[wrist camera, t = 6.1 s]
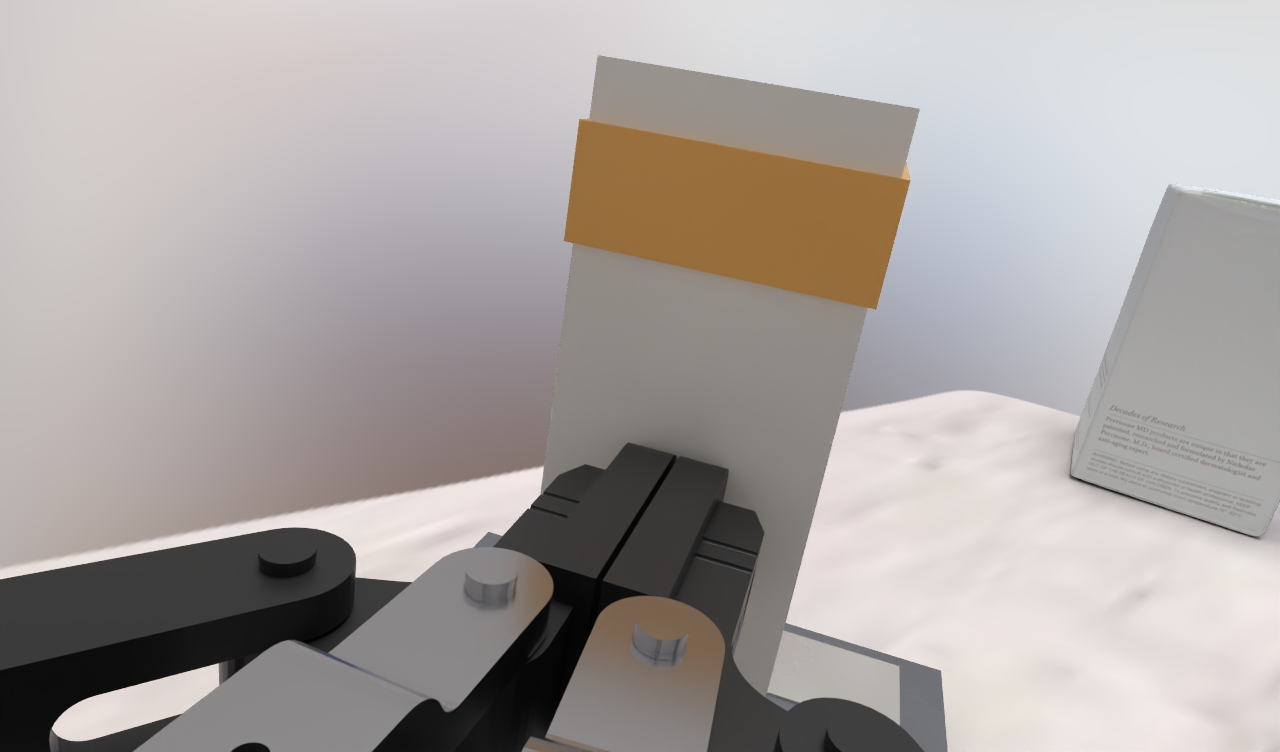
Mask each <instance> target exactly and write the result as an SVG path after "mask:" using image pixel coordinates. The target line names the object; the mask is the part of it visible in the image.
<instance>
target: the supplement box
mask: <svg viewBox="0 0 1280 752" xmlns="http://www.w3.org/2000/svg"><path fill="white" fill-rule="evenodd" d="M1070 473H1071V475H1072V476H1074V477H1076V478H1079V479H1082V480H1084V481H1087V482H1090V483H1093V484H1096V485H1099V486H1102V487H1105V488H1108V489H1111V490H1114V491H1117V492H1120V493H1123V494H1126V495H1129V496H1132V497H1135V498H1138V499H1140V500H1143V501H1147V502H1150V503H1153V504H1156V505H1159V506H1162V507H1165V508H1168V509H1171V510H1174V511H1177V512H1180V513H1183V514H1186V515H1189V516H1192V517H1195V518H1198V519H1202V520H1205V521H1208V522H1211V523H1214V524H1217V525H1220V526H1223V527H1226V528H1229V529H1232V530H1235V531H1239V532H1242V533H1245V534H1248V535H1252V536H1261V535H1263V534H1264V533H1265V531H1266V529H1267V527H1268V525H1269V523H1270V521H1271V519H1272V517H1273V515H1274V512H1275V510H1276V508H1277V506H1278V504H1279V502H1280V200H1277V199H1271V198H1265V197H1259V196H1253V195H1247V194H1241V193H1235V192H1229V191H1222V190H1216V189H1209V188H1202V187H1194V186H1186V185H1178V184H1170V185H1168V187H1167V190H1166V192H1165V195H1164V197H1163V199H1162V202H1161V204H1160V207H1159V210H1158V212H1157V214H1156V217H1155V219H1154V222H1153V224H1152V227H1151V229H1150V232H1149V235H1148V238H1147V240H1146V243H1145V245H1144V249H1143V251H1142V254H1141V256H1140V259H1139V262H1138V265H1137V267H1136V270H1135V273H1134V276H1133V278H1132V281H1131V284H1130V286H1129V289H1128V292H1127V295H1126V298H1125V300H1124V303H1123V306H1122V308H1121V311H1120V314H1119V316H1118V319H1117V322H1116V324H1115V327H1114V330H1113V332H1112V335H1111V338H1110V340H1109V343H1108V346H1107V348H1106V351H1105V354H1104V357H1103V360H1102V362H1101V365H1100V367H1099V370H1098V373H1097V375H1096V378H1095V381H1094V384H1093V386H1092V388H1091V391H1090V394H1089V396H1088V399H1087V401H1086V404H1085V406H1084V409H1083V412H1082V414H1081V417H1080V420H1079V422H1078V425H1077V428H1076V432H1075V438H1074V446H1073V455H1072V465H1071V472H1070Z"/></svg>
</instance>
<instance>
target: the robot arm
mask: <svg viewBox="0 0 1280 752" xmlns="http://www.w3.org/2000/svg"><path fill="white" fill-rule="evenodd" d="M728 473H729V469H727V468H723V467H719V466H716V465H712V464H708V463H704V462H701V461H697V460H693V459H690V458H686V457H682V456H680V457H679V458H678V459H677V456H676V455H674V454H670V453H667V452H663V451H659V450H655V449H652V448H648V447H644V446H640V445H637V444H633V443H629V442H628V443H627V444H626V445H625V446H624V447H623V448H622V450H621V451H620V452H619V453H618V455H617V456H616V457H615V458H614V460H613V461H612V462H611V463H610V465H609V466H608V467H607V468H606V470H605V469H601V468H597V467H594V466H590V465H587V464H584V465H582V466H579V467H577V468H574V469H572V470H569V471H567V472H564V473H562V474H559V475H558V476H557V477H556V478H555V480H554V481H553V482H552V483H551V484H550V485H549V486H548V487H547V488H546V489H545V490H544V492H543V495H540V496H539V497H538V498H537V499H536V500H535V501H534V503H533V504H532V505H531V508H530V509H527V510H526V511H525V512H524V513H523V515H522V516H521V517H520V518H519V519H518V520H517V521H516V522H515V523H514V524H513V526H512V527H511V528H510V529H509V530H508V531H507V532H506V533H505V534H504V535H503V536H502V538H501V539H500V540H499V541H498V542H497V543H496V544H495V545H494V546H493V547H478V548H470V549H465V550H460V551H457V552H454V553H451V554H449V555H447V556H445V557H443V558H442V559H441V560H439V561H438V562H436V563H435V564H434V565H433V566H432V567H430V568H429V569H428V570H427V571H426V572H424V573H423V574H422V575H421V576H420V577H418V578H417V579H416V580H415V581H414V582H398V581H388V580H377V579H366V578H355V572H356V556H355V553H354V550H353V548H352V547H351V546H350V545H349V543H347V542H346V541H345V540H343V539H342V538H340V537H338V536H336V535H334V534H331V533H329V532H326V531H321V530H317V529H310V528H281V529H274V530H268V531H262V532H257V533H251V534H246V535H240V536H235V537H229V538H224V539H218V540H213V541H208V542H202V543H197V544H191V545H186V546H180V547H175V548H169V549H164V550H158V551H153V552H148V553H142V554H137V555H131V556H126V557H120V558H115V559H109V560H104V561H98V562H93V563H87V564H82V565H77V566H71V567H66V568H60V569H55V570H49V571H44V572H38V573H33V574H27V575H22V576H17V577H11V578H6V579H0V752H924V750H923V749H922V748H921V747H920V746H919V745H918V743H917V742H916V741H915V740H914V739H913V738H912V737H911V736H910V735H909V734H908V733H907V732H906V731H905V730H904V729H903V728H902V727H901V726H899V725H898V724H897V723H896V722H894V721H893V720H891V719H890V718H888V717H887V716H885V715H884V714H882V713H880V712H878V711H876V710H874V709H872V708H870V707H867V706H865V705H862V704H860V703H857V702H853V701H849V700H845V699H839V698H825V697H823V698H813V699H809V700H806V701H803V702H801V703H799V704H797V705H795V706H794V707H792V708H791V709H790V710H789V711H787V710H785V709H783V708H782V707H780V706H778V705H777V704H775V703H773V702H772V701H770V700H769V699H767V698H766V697H764V696H763V695H762V694H760V693H759V692H758V691H757V690H756V689H754V688H753V687H752V686H751V685H750V684H749V683H748V682H747V681H746V679H745V678H744V677H743V675H742V674H741V673H740V671H739V670H738V668H737V666H736V664H735V662H734V659H733V656H734V652H735V648H736V645H737V642H738V638H739V635H740V632H741V628H742V625H743V621H744V617H745V613H746V608H747V604H748V600H749V596H750V592H751V587H752V583H753V579H754V575H755V571H756V566H757V562H758V558H759V554H760V550H761V546H762V541H763V537H764V533H765V532H764V530H763V528H762V526H761V523H760V521H759V519H758V516H757V514H756V512H755V511H753V510H749V509H746V508H742V507H739V506H735V505H731V504H728V503H724V502H723V499H724V495H725V490H726V485H727V480H728ZM217 663H219V686H218V687H217V688H216V689H214V690H213V691H212V692H211V693H209V694H208V695H207V696H205V697H204V698H203V699H201V700H200V701H199V702H197V703H196V704H195V705H193V706H192V707H191V708H190V709H188V710H187V711H186V712H184V713H183V714H179V715H176V716H172V717H169V718H166V719H162V720H159V721H155V722H152V723H148V724H145V725H141V726H138V727H134V728H131V729H127V730H124V731H120V732H117V733H114V734H110V735H107V736H103V737H100V738H96V739H92V740H88V741H68V740H65V739H62V738H60V737H58V736H57V735H56V734H55V733H54V732H53V730H52V727H53V725H54V723H55V721H56V720H57V719H58V718H59V716H60V715H61V714H62V713H63V712H65V711H66V710H67V709H68V708H70V707H71V706H73V705H74V704H76V703H78V702H80V701H82V700H84V699H86V698H89V697H93V696H96V695H99V694H103V693H107V692H111V691H115V690H119V689H122V688H126V687H130V686H134V685H138V684H141V683H145V682H149V681H153V680H157V679H160V678H164V677H168V676H172V675H176V674H179V673H183V672H187V671H191V670H195V669H198V668H202V667H206V666H210V665H214V664H217Z"/></svg>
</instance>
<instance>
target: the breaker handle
mask: <svg viewBox="0 0 1280 752" xmlns="http://www.w3.org/2000/svg"><path fill="white" fill-rule="evenodd" d="M918 113H919V109H916V108H911V107H904V106H899V105H892V104H887V103H881V102H875V101H869V100H863V99H857V98H851V97H845V96H839V95H833V94H827V93H821V92H815V91H809V90H803V89H797V88H791V87H785V86H779V85H773V84H767V83H761V82H755V81H749V80H743V79H737V78H730V77H725V76H719V75H713V74H707V73H701V72H695V71H689V70H683V69H676V68H671V67H664V66H659V65H653V64H646V63H641V62H635V61H629V60H623V59H617V58H611V57H605V56H599V55H598V58H597V66H596V73H595V80H594V88H593V96H592V103H591V111H590V119H580V120H579V127H578V135H577V143H576V151H575V158H574V166H573V174H572V182H571V190H570V199H569V207H568V214H567V222H566V230H565V238H564V241H567V242H571V243H573V249H572V257H571V265H570V273H569V281H568V288H567V295H566V303H565V311H564V319H563V327H562V334H561V341H560V349H559V357H558V364H557V373H556V380H555V387H554V395H553V403H552V410H551V419H550V427H549V433H548V442H547V449H546V456H545V464H544V472H543V479H542V487H541V495H543V492H544V490H545V489H546V488H547V487H548V486H549V485H550V484H551V483H552V482H553V481H554V480H555V478H556V477H557V476H558V475H559V474H562V473H564V472H567V471H569V470H572V469H574V468H577V467H579V466H582V465H584V464H587V465H590V466H594V467H597V468H601V469H605V470H606V468H607V467H608V466H609V465H610V463H611V462H612V461H613V460H614V458H615V457H616V456H617V455H618V453H619V452H620V451H621V450H622V448H623V447H624V446H625V445H626V444H627V443H628V442H629V443H633V444H637V445H640V446H644V447H648V448H652V449H655V450H659V451H663V452H667V453H670V454H674V455H676V456H677V459H678V458H679V457H680V456H682V457H686V458H690V459H693V460H697V461H701V462H704V463H708V464H712V465H716V466H719V467H723V468H727V469H729V473H728V480H727V485H726V490H725V495H724V499H723V502H724V503H728V504H731V505H735V506H739V507H742V508H746V509H749V510H753V511H755V512H756V514H757V516H758V519H759V521H760V523H761V526H762V528H763V530H764V532H765V533H764V537H763V541H762V546H761V550H760V554H759V558H758V562H757V566H756V571H755V575H754V579H753V583H752V587H751V592H750V596H749V600H748V604H747V608H746V613H745V617H744V621H743V625H742V628H741V632H740V635H739V638H738V642H737V645H736V648H735V652H734V656H733V659H734V662H735V664H736V666H737V668H738V670H739V671H740V673H741V674H742V675H743V677H744V678H745V679H746V681H747V682H748V683H749V684H750V685H751V686H752V687H753V688H754V689H756V690H757V691H758V692H759V693H760V694H762V695H763V696H764V697H766V695H767V691H768V687H769V683H770V679H771V676H772V672H773V668H774V664H775V660H776V656H777V653H778V649H779V645H780V641H781V637H782V634H783V630H784V626H785V622H786V618H787V614H788V611H789V607H790V603H791V599H792V595H793V592H794V588H795V584H796V580H797V576H798V572H799V569H800V565H801V561H802V557H803V553H804V549H805V546H806V542H807V538H808V534H809V530H810V527H811V523H812V519H813V515H814V511H815V507H816V504H817V500H818V496H819V492H820V488H821V484H822V481H823V477H824V473H825V469H826V465H827V462H828V458H829V454H830V450H831V446H832V442H833V439H834V435H835V431H836V427H837V423H838V419H839V416H840V412H841V408H842V404H843V400H844V396H845V393H846V389H847V385H848V381H849V377H850V374H851V370H852V366H853V362H854V358H855V354H856V351H857V347H858V343H859V339H860V335H861V331H862V328H863V324H864V320H865V316H866V312H867V308H872V309H876V308H877V304H878V300H879V296H880V293H881V288H882V285H883V281H884V277H885V274H886V270H887V266H888V262H889V259H890V255H891V251H892V247H893V244H894V240H895V236H896V232H897V228H898V225H899V221H900V217H901V213H902V209H903V206H904V202H905V198H906V194H907V191H908V187H909V183H910V177H909V173H908V168H907V163H906V160H907V156H908V152H909V148H910V144H911V140H912V136H913V133H914V129H915V125H916V121H917V117H918Z"/></svg>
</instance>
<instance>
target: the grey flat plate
mask: <svg viewBox="0 0 1280 752" xmlns="http://www.w3.org/2000/svg"><path fill="white" fill-rule="evenodd" d="M501 538H502V536H500V535H497V534H494V533H490V532H488V533H487V534H486V535H485V536H484V537H483V538H482V539H481V540H480V541H479V542H478V543H477V544H476V546H475V547H474V548H478V547H493V546H494V545H495V544H496V543H497V542H498V541H499V540H500V539H501ZM823 697H825V698H839V699H845V700H849V701H853V702H857V703H860V704H862V705H865V706H867V707H870V708H872V709H874V710H876V711H878V712H880V713H882V714H884V715H885V716H887V717H888V718H890V719H891V720H893V721H894V722H896V723H897V724H898V725H899V726H901V727H902V728H903V729H904V730H905V731H906V732H907V733H908V734H909V735H910V736H911V737H912V738H913V739H914V740H915V741H916V742H917V743H918V745H919V746H920V747H921V748H922V749H923V750H924V752H947V740H946V727H945V715H944V703H943V691H942V678H941V671H940V670H937V669H933V668H930V667H927V666H924V665H920V664H917V663H914V662H911V661H907V660H904V659H901V658H898V657H894V656H891V655H888V654H885V653H881V652H878V651H875V650H871V649H868V648H865V647H862V646H858V645H855V644H852V643H849V642H845V641H842V640H839V639H836V638H832V637H829V636H826V635H823V634H819V633H816V632H813V631H810V630H806V629H803V628H800V627H797V626H793V625H790V624H787V623H785V626H784V630H783V634H782V637H781V641H780V645H779V649H778V653H777V656H776V660H775V664H774V668H773V672H772V676H771V679H770V683H769V687H768V691H767V695H766V698H767V699H769V700H770V701H772V702H773V703H775V704H777V705H778V706H780V707H782V708H783V709H785V710H787V711H789V710H790V709H791V708H792V707H794V706H795V705H797V704H799V703H801V702H803V701H806V700H809V699H813V698H823Z"/></svg>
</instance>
